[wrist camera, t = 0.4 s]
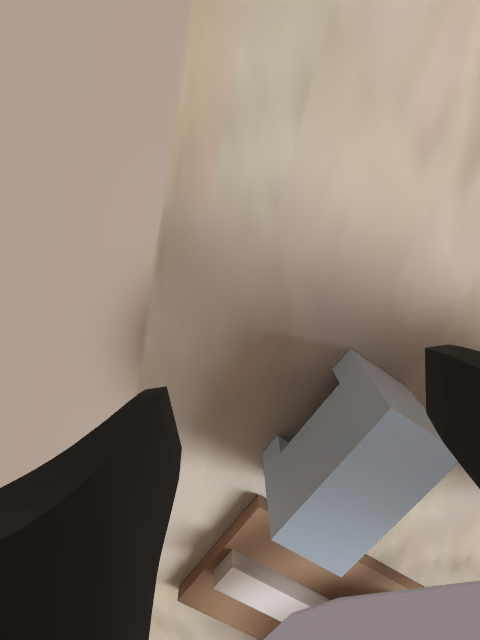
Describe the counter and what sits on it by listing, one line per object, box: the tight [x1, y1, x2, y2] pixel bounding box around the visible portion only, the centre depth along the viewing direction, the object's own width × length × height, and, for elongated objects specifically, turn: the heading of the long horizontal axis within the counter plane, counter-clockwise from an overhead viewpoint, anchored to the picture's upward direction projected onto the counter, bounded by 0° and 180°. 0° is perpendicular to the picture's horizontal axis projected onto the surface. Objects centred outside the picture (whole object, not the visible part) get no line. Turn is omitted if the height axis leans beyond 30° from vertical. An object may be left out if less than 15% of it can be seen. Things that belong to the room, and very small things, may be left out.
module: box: [262, 349, 459, 577], centre depth 20 cm, size 4×9×6 cm, turn 145°
